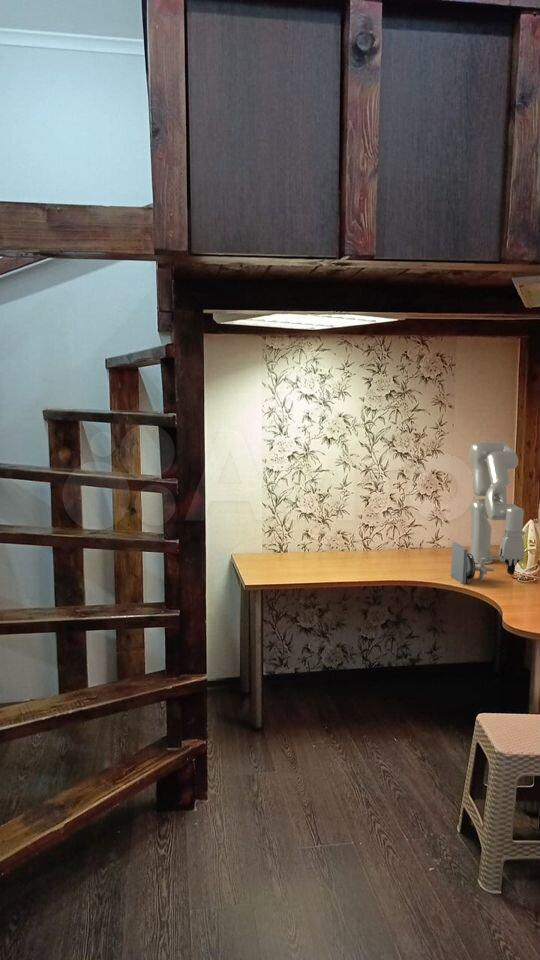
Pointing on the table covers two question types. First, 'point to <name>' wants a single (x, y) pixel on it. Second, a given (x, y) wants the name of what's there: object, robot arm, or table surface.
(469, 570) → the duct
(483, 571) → the pipe connector
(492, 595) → the table surface
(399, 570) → the table surface
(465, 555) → the mounting panel
